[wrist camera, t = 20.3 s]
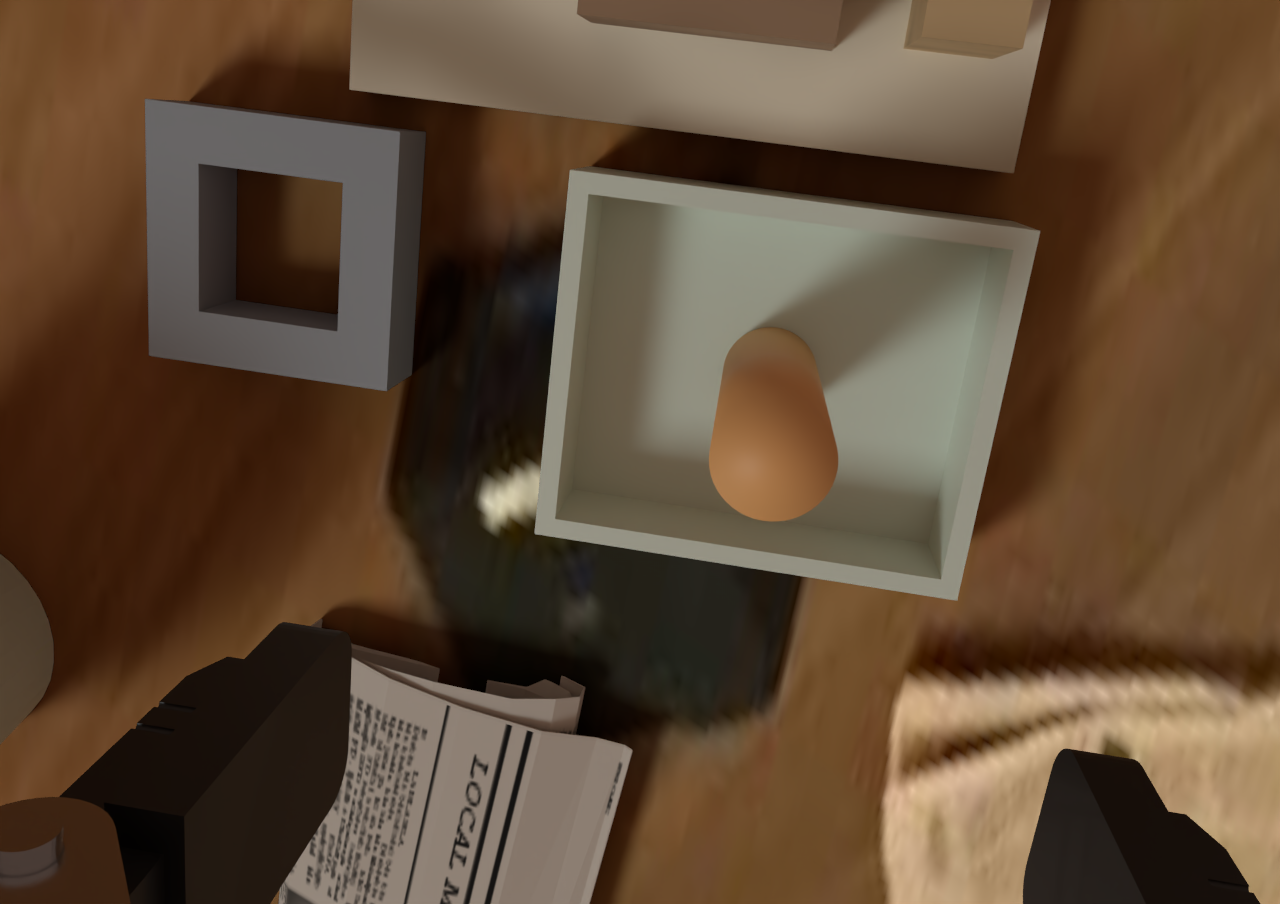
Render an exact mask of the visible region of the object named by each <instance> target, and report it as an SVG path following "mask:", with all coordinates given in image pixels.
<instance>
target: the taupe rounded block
mask: <svg viewBox="0 0 1280 904" xmlns="http://www.w3.org/2000/svg"><path fill="white" fill-rule="evenodd" d="M842 3H843V0H578V6H577V14H578V15H579V16H581V17H583V18H584V19H586V20H588V21H589V22H591V23H596V24H604V25H613V26H621V27H630V28H638V29H647V30H656V31H664V32H673V33H681V34H690V35H698V36H707V37H715V38H724V39H732V40H741V41H750V42H758V43H767V44H775V45H784V46H792V47H801V48H809V49H818V50H827V51H832V49H833V48H834V46H835V45H836V40H837V34H838V27H839V21H840V15H841V9H842Z"/></svg>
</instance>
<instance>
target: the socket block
mask: <svg viewBox="0 0 1280 904" xmlns="http://www.w3.org/2000/svg"><path fill="white" fill-rule="evenodd" d="M145 129H146V195H147V260H148V326H149V356H154V357H161V358H167V359H174V360H181V361H188V362H194V363H201V364H208V365H214V366H221V367H228V368H235V369H241V370H248V371H255V372H261V373H268V374H275V375H282V376H288V377H295V378H302V379H308V380H315V381H322V382H329V383H335V384H342V385H349V386H355V387H362V388H369V389H376V390H382V391H388V390H389V389H391V388H392V387H394V386H395V385H397V384H398V383H400V382H401V381H403V380H404V379H406V378H407V377H409V376H410V375H412V364H413V347H414V329H415V312H416V295H417V278H418V261H419V244H420V227H421V210H422V193H423V176H424V158H425V141H426V132H423V131H415V130H408V129H400V128H392V127H384V126H376V125H369V124H361V123H353V122H345V121H338V120H330V119H322V118H314V117H306V116H299V115H291V114H283V113H275V112H268V111H260V110H252V109H244V108H236V107H229V106H221V105H213V104H205V103H197V102H190V101H174V100H156V99H145ZM237 169H243V170H251V171H258V172H266V173H273V174H281V175H288V176H296V177H303V178H311V179H318V180H326V181H333V182H341V183H343V194H342V221H341V248H340V275H339V302H338V315H337V314H330V313H323V312H316V311H309V310H303V309H296V308H289V307H282V306H275V305H268V304H261V303H254V302H247V301H240V300H236V238H237Z"/></svg>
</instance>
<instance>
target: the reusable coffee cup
mask: <svg viewBox="0 0 1280 904" xmlns="http://www.w3.org/2000/svg"><path fill="white" fill-rule="evenodd" d="M53 664H54V643H53V637H52V633H51V629H50V624H49V620H48V618H47V616H46V613H45V611H44V609H43V606H42V604H41V602H40V600H39V598H38V597H37V595H36V593H35V592H34V590H33V589H32V587H31V586H30V584H29V583H28V581H27V580H26V579H25V578H24V576H23V575H22V574H21V573H20V572H19V571H18V570H17V569H16V568H15V566H14V565H13V564H12V563H11V562H10V561H8V560H7V559H6V558H5V557H3V556H2V555H1V554H0V744H1V743H2V742H3V741H4V740H5V739H6V738H7V737H8V736H9V735H10V734H11V732H12V731H13V730H14V729H15V728H16V727H17V726H18V725H19V724H20V723H21V722H22V721H23V720H24V719H25V718H26V717H27V716H28V715H29V713H30V712H31V711H32V710H33V709H34V708H35V706H36V705H37V704H38V703H39V701H40V700H41V699H42V698H43V696H44V694H45V691H46V689H47V687H48V685H49V683H50V680H51V675H52V670H53Z"/></svg>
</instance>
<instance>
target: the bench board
mask: <svg viewBox="0 0 1280 904" xmlns="http://www.w3.org/2000/svg"><path fill="white" fill-rule="evenodd" d="M1050 2H1051V0H843V3H842V9H841V15H840V21H839V27H838V34H837V40H836V45H835V46H834V48H833V49H832V51H827V50H818V49H809V48H801V47H792V46H784V45H775V44H767V43H758V42H750V41H741V40H732V39H724V38H715V37H707V36H698V35H690V34H681V33H673V32H664V31H656V30H647V29H638V28H630V27H621V26H613V25H604V24H596V23H591V22H589V21H588V20H586V19H584V18H583V17H581V16H579V15H578V14H577V6H578V0H353V5H352V32H351V58H350V85H349V90H356V91H364V92H372V93H380V94H388V95H395V96H403V97H411V98H419V99H427V100H435V101H443V102H451V103H459V104H467V105H475V106H483V107H491V108H499V109H507V110H515V111H522V112H530V113H538V114H546V115H554V116H562V117H570V118H578V119H586V120H594V121H602V122H610V123H618V124H626V125H634V126H642V127H649V128H657V129H665V130H673V131H681V132H689V133H697V134H705V135H713V136H721V137H729V138H737V139H745V140H753V141H761V142H768V143H776V144H784V145H792V146H800V147H808V148H816V149H824V150H832V151H840V152H848V153H856V154H864V155H872V156H880V157H888V158H895V159H903V160H911V161H919V162H927V163H935V164H943V165H951V166H959V167H967V168H975V169H983V170H991V171H999V172H1007V173H1014V169H1015V165H1016V160H1017V155H1018V151H1019V146H1020V141H1021V137H1022V132H1023V127H1024V123H1025V118H1026V114H1027V109H1028V104H1029V100H1030V95H1031V90H1032V86H1033V81H1034V76H1035V72H1036V67H1037V62H1038V58H1039V53H1040V49H1041V44H1042V39H1043V35H1044V30H1045V25H1046V21H1047V16H1048V11H1049V7H1050Z"/></svg>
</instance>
